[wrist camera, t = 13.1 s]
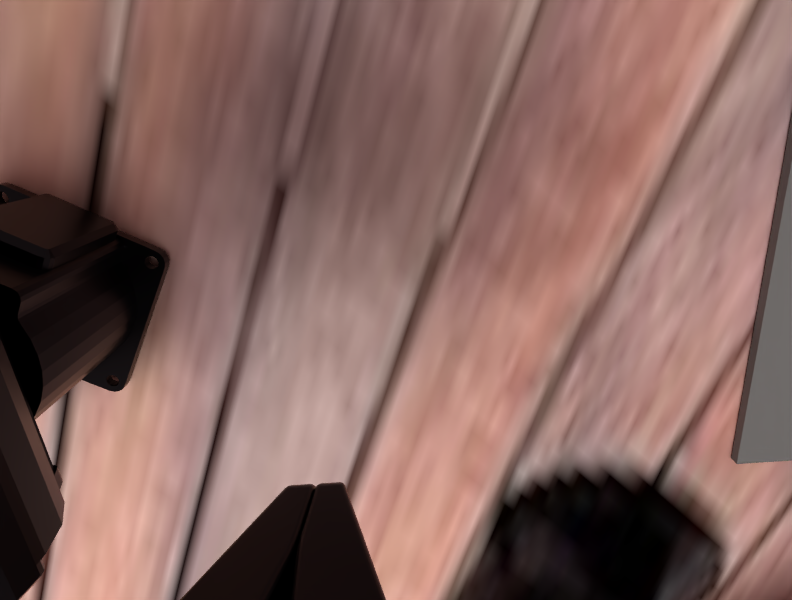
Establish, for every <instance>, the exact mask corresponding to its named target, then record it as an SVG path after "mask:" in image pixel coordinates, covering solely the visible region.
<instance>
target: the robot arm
mask: <svg viewBox="0 0 792 600" xmlns="http://www.w3.org/2000/svg"><path fill="white" fill-rule="evenodd" d="M3 192H4V193H5V194H6V195H7V196H8V198H9V202H8V203H7V202H5V201H4V199H3V198H2V193H3ZM150 256H153V257H155V258H156V259H157V260H158V262H159V263H158V266H154V265H153V264H151V262H150ZM169 261H170V260H169V257H168V255H167V254H166V252H165V251H163V250H162V249H160V248H158V247H156V246H154V245H151V244H149V243H147V242H144V241H142V240H140V239H138V238H135V237H133V236H131V235H128V234H126V233H124V232H121V231H119V230H118V228H117V227H116V225H115V224H114V223H113V222H112V221H110V220H107V219H105V218H103V217H101V216H98V215H96V214H94V213H91V212H89V211H87V210H84V209H82V208H80V207H78V206H75V205H73V204H71V203H68V202H66V201H64V200H61V199H59V198H57V197H55V196H52V195H50V194H43V195H39V196H38V195H36V194H34V193H31V192H29V191H27V190H25V189H22V188H20V187H18V186H15V185H13V184H10V183H1V184H0V600H20V599H21V598H22V596H23V595H24V594H25V593H26V592H27V591H28V590H29V589H30V588H31V587H32V586H33V585H34V584H35V583H36V582H37V580H38V579H39V578H40V576H41V575H42V573H43V572H44V564H43V561H42V558H43V556H44V555H45V554H46V552H47V550H48V549H49V547H50V545H51V543H52V542H53V540H54V538H55V536H56V535H57V533H58V531H59V529H60V528H61V526H62V522H63V512H64V500H63V497H62V494H61V492H60V488H61V485H62V482H63V480H62V477H61V475H60V472H59V470H58V467H57V466H56V465H52V462H51V460H50V457H49V455H48V452H47V449H46V447H45V444H44V442H43V439H42V437H41V434H40V431H39V429H38V426H37V424H36V421H35V419H36V418H38V417H39V416H40V415H41V414H42V413H43V412H44V411H46V410H47V409H48V408H49V407H50V406H51V405H53V404H54V403H55V402H56V401H57V400H58V399H60V398H61V397H62V396H63V395H64V394H65V393H67V392H68V391H69V390H70V389H71V388H72V387H74V386H75V385H76V384H77V383H78V382H79V381H81V380H84V381H86V382H89V383H91V384H94V385H96V386H99V387H102V388H104V389H107V390H109V391H114V392H115V391H120V390H122V389H123V388H124V387H125V386H126V385H127V384H128V382H129V381H130V378H131V375H132V372H133V369H134V366H135V363H136V361H137V358H138V355H139V352H140V349H141V346H142V343H143V340H144V337H145V334H146V331H147V328H148V325H149V322H150V320H151V317H152V314H153V311H154V308H155V305H156V302H157V299H158V296H159V293H160V290H161V287H162V284H163V282H164V279H165V276H166V273H167V270H168V267H169ZM112 375H114V376H116V377H117V378H118V379H119V381H115V380H114V379H113V378H112ZM180 600H386V599H385V596H384V593H383V590H382V588H381V585H380V582H379V579H378V576H377V574H376V571H375V568H374V565H373V562H372V560H371V557H370V554H369V551H368V548H367V546H366V543H365V540H364V537H363V534H362V532H361V529H360V526H359V523H358V520H357V518H356V515H355V512H354V509H353V506H352V504H351V501H350V498H349V495H348V492H347V490H346V487H345V485H344V484H343V483H342V482H336V483H321V484H319V485H317V486H316V487H315V486H314V485H313V484H304V485H291V486H288V487H286V488H285V489H284V490H283V491H282V492H281V493H280V494H279V495H278V496H277V497H276V499H275V500H274V501H273V502H272V503H271V504H270V505H269V506H268V507H267V508H266V509H265V510H264V511H263V512H262V513H261V514H260V516H259V517H258V518H257V519H256V520H255V521H254V522H253V523H252V524H251V525H250V526H249V527H248V528H247V529H246V530H245V531H244V533H243V534H242V535H241V536H240V537H239V538H238V539H237V540H236V541H235V542H234V543H233V544H232V545H231V546H230V547H229V548H228V549H227V551H226V552H225V553H224V554H223V555H222V556H221V557H220V558H219V559H218V560H217V561H216V562H215V563H214V564H213V565H212V566H211V568H210V569H209V570H208V571H207V572H206V573H205V574H204V575H203V576H202V577H201V578H200V579H199V580H198V581H197V582H196V583H195V585H194V586H193V587H192V588H191V589H190V590H189V591H188V592H187V593H186V594H185V595H184V596H183V597H182V598H181V599H180Z"/></svg>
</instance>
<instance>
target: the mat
mask: <svg viewBox="0 0 792 600" xmlns="http://www.w3.org/2000/svg"><path fill="white" fill-rule="evenodd" d="M731 458H732V459H733V461H734V462H735V463H736V464H743V463H759V462H774V461H790V460H792V116H791V122H790V128H789V133H788V139H787V145H786V150H785V156H784V162H783V167H782V173H781V179H780V184H779V190H778V196H777V201H776V207H775V213H774V218H773V224H772V230H771V235H770V241H769V247H768V252H767V258H766V264H765V269H764V275H763V281H762V286H761V292H760V298H759V303H758V309H757V315H756V320H755V326H754V332H753V337H752V343H751V349H750V354H749V360H748V366H747V371H746V377H745V383H744V388H743V394H742V400H741V405H740V411H739V417H738V422H737V428H736V434H735V439H734V445H733V451H732V456H731Z"/></svg>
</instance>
